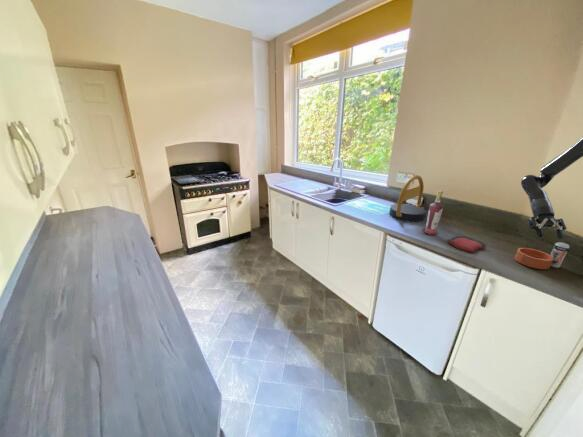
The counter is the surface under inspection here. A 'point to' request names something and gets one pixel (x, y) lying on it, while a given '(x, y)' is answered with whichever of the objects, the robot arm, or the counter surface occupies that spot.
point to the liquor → (434, 215)
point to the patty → (466, 245)
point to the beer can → (559, 253)
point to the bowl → (533, 258)
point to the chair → (409, 211)
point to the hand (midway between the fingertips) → (551, 237)
